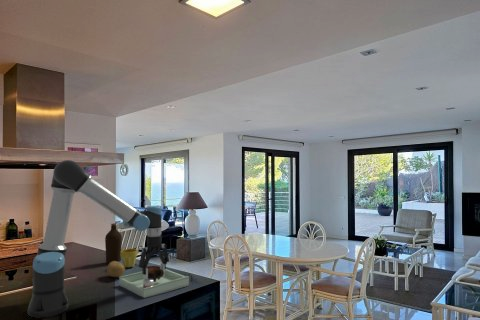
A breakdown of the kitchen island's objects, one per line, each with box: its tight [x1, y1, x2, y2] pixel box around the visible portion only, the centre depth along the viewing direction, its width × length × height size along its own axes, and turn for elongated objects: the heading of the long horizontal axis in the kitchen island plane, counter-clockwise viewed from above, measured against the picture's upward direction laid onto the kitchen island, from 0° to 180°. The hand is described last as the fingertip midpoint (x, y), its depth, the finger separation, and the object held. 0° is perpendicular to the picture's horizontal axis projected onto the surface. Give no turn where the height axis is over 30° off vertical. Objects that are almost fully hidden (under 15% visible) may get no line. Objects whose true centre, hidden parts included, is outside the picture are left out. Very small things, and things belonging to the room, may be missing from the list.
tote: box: [118, 266, 190, 299], centre depth 177 cm, size 26×26×5 cm
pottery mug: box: [146, 265, 164, 282], centre depth 179 cm, size 12×9×8 cm
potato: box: [106, 261, 126, 278], centre depth 192 cm, size 10×14×8 cm
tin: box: [143, 279, 154, 288], centre depth 165 cm, size 5×5×6 cm
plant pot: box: [121, 248, 138, 268], centre depth 214 cm, size 10×10×10 cm
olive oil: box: [104, 222, 123, 264], centre depth 225 cm, size 11×11×25 cm
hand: (154, 278), depth 177 cm, fingers closed on pottery mug, 9 cm apart
